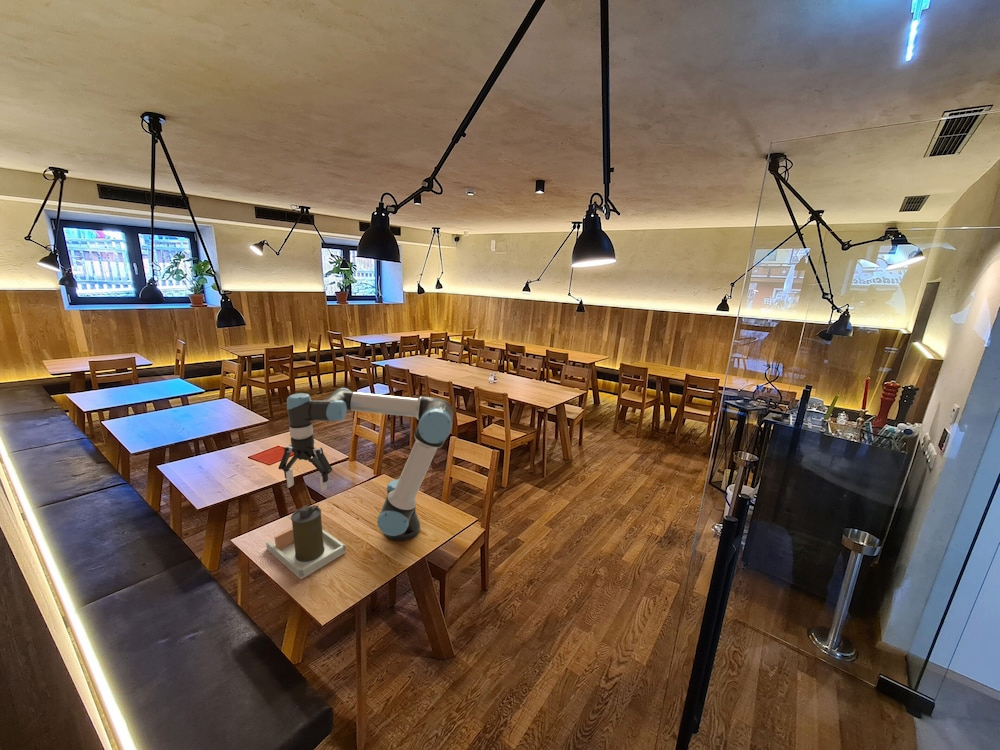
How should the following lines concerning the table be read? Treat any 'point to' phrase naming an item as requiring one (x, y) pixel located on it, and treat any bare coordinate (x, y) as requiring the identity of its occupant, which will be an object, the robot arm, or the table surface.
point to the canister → (307, 533)
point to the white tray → (305, 568)
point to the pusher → (284, 538)
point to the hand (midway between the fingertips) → (307, 487)
